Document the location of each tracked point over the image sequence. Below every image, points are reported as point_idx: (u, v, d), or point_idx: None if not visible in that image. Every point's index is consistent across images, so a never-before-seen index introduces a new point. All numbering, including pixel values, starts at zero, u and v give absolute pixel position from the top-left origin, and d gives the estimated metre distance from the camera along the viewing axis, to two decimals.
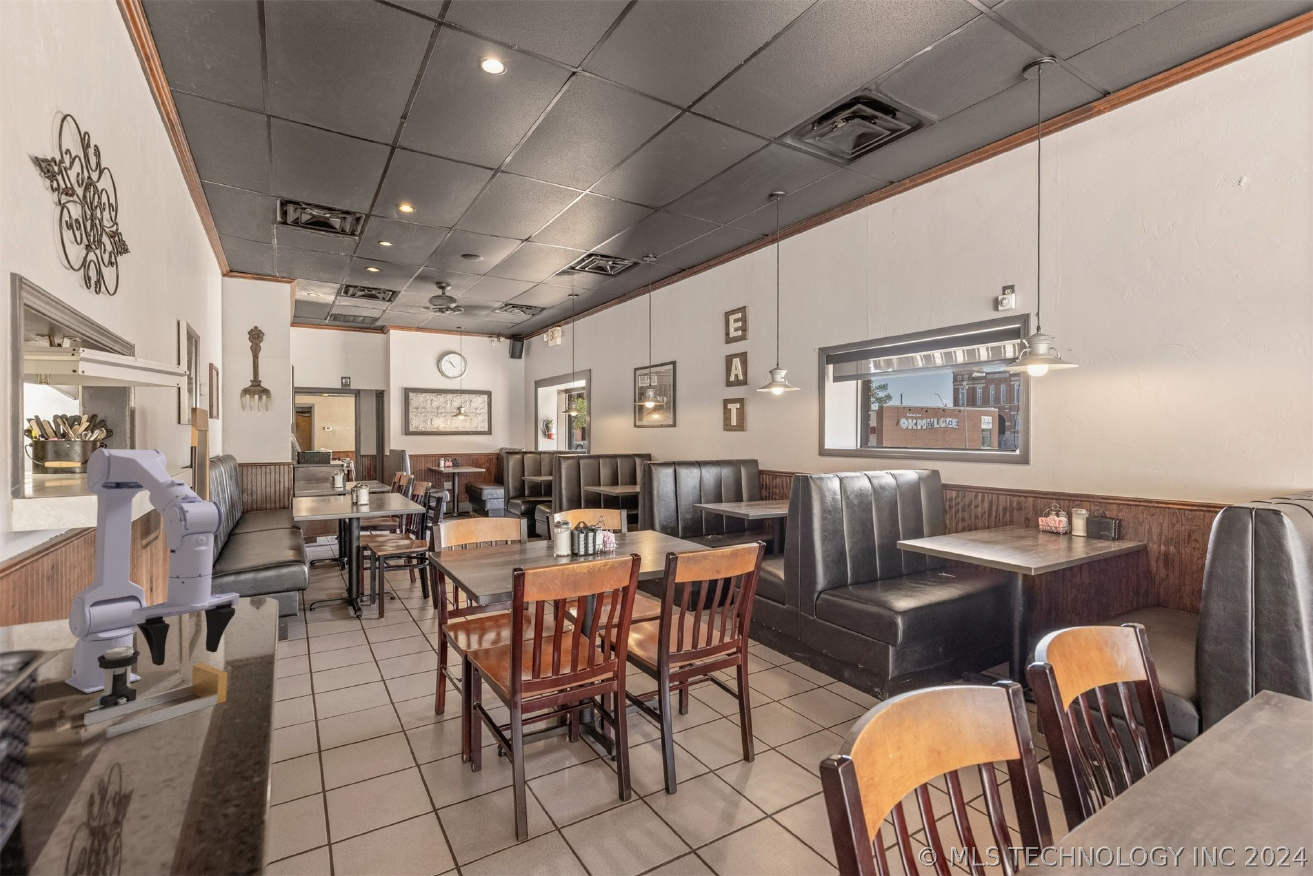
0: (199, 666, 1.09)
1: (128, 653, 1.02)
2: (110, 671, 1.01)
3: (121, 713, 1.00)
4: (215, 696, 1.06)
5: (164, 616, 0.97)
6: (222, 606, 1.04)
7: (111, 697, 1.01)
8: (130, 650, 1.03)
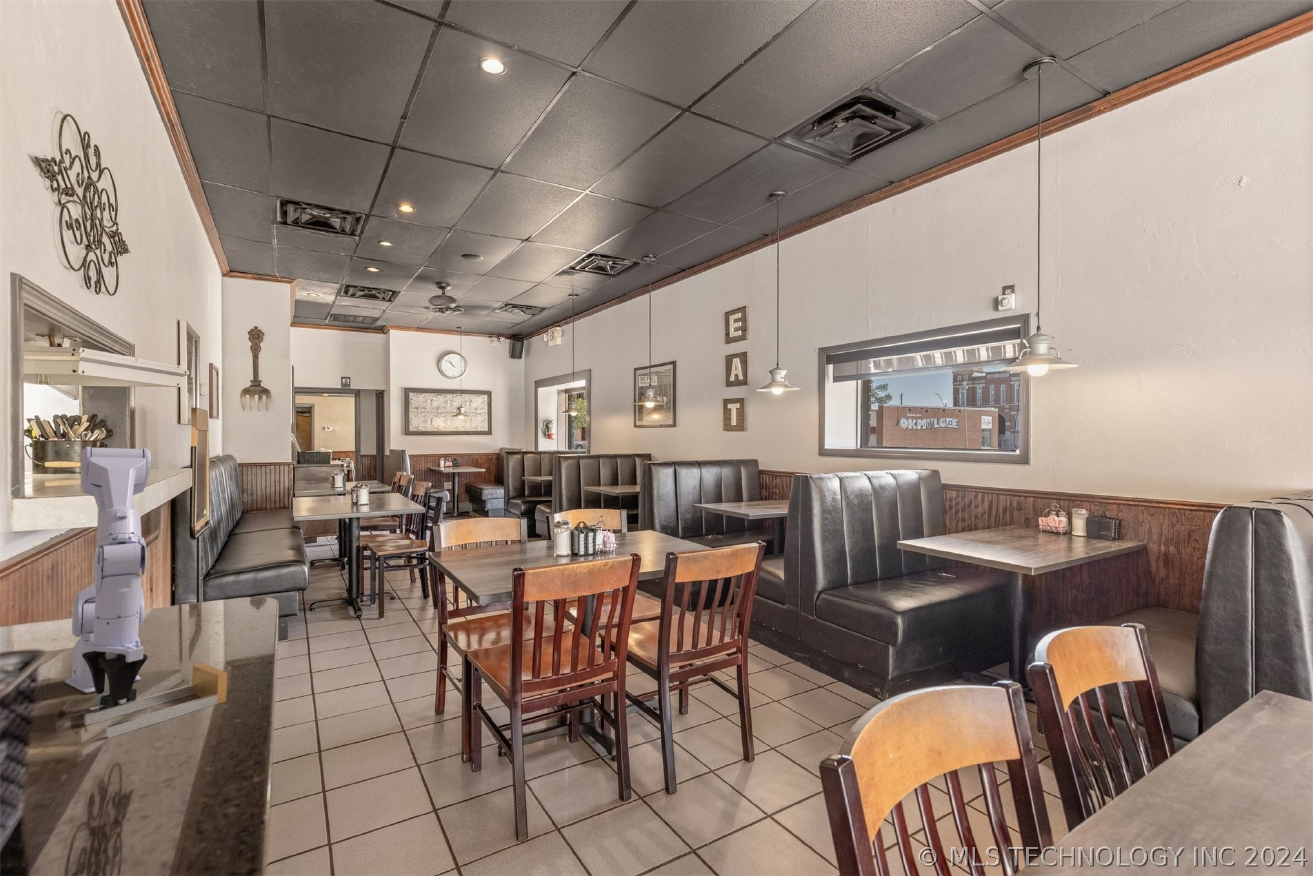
0: (199, 666, 1.09)
1: None
2: None
3: (121, 713, 1.00)
4: (215, 696, 1.06)
5: None
6: (122, 657, 0.99)
7: None
8: None
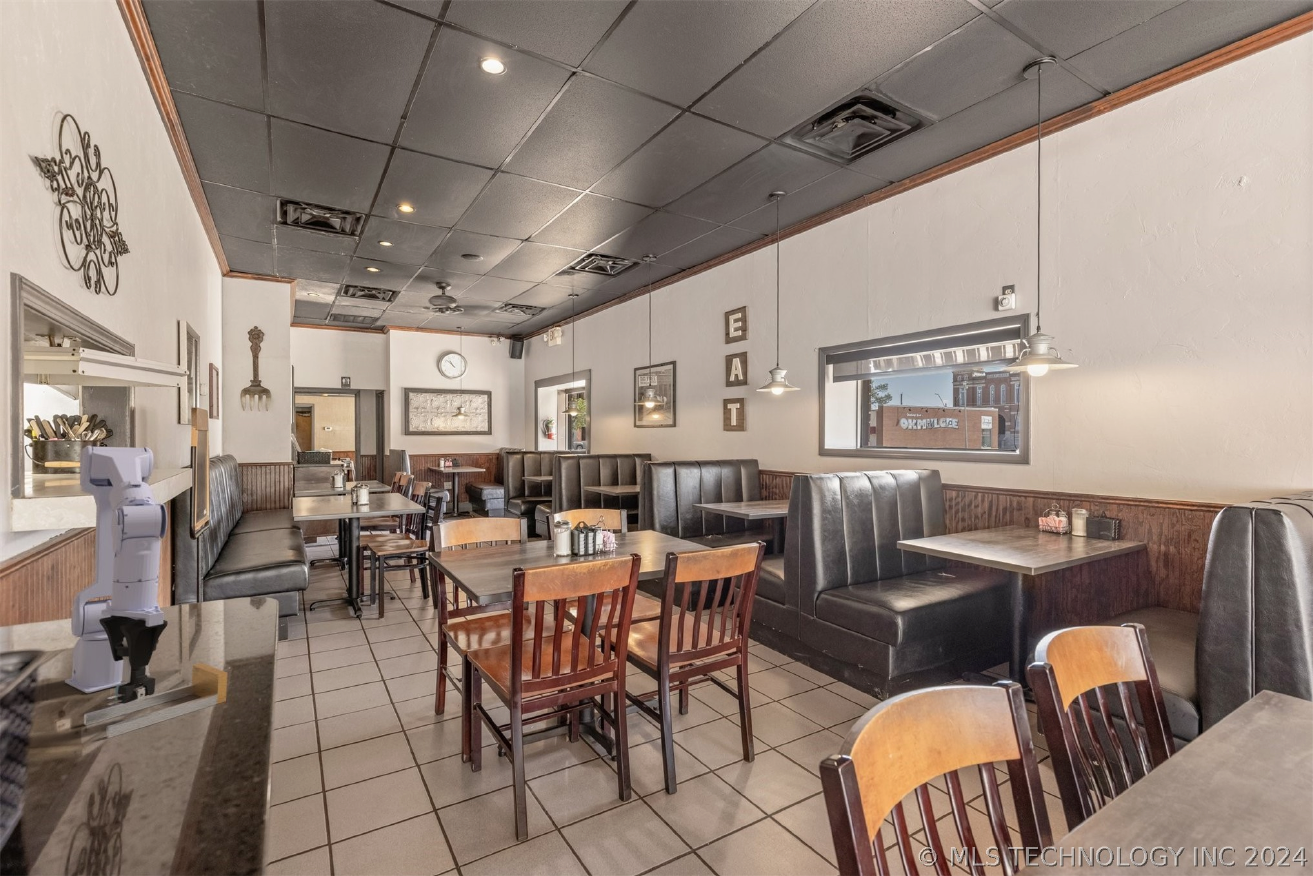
0: (199, 666, 1.09)
1: None
2: (128, 659, 0.97)
3: (121, 713, 1.00)
4: (215, 696, 1.06)
5: None
6: (141, 622, 0.96)
7: (129, 686, 0.97)
8: None
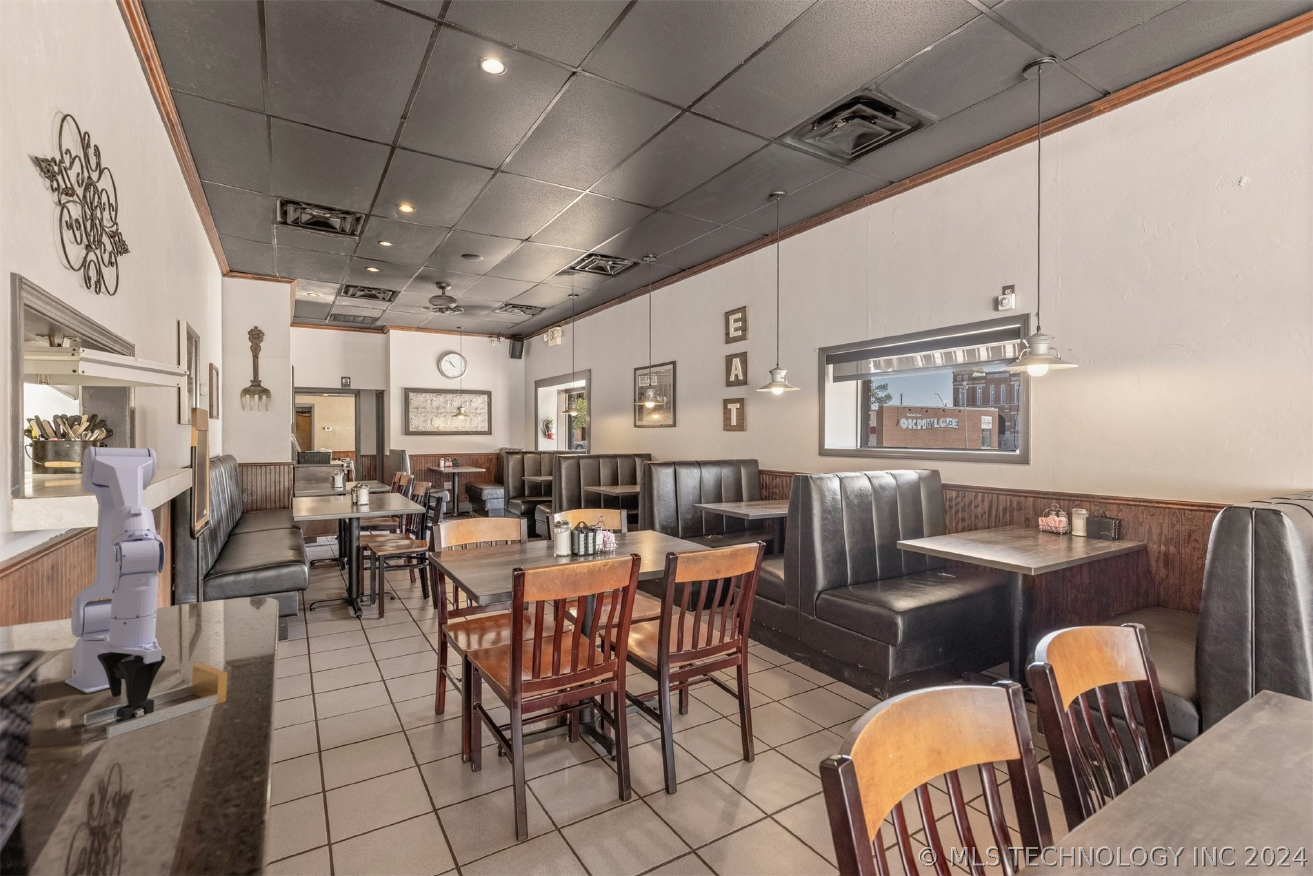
0: (199, 666, 1.09)
1: None
2: None
3: None
4: (215, 696, 1.06)
5: None
6: (139, 659, 0.95)
7: (128, 708, 0.97)
8: None
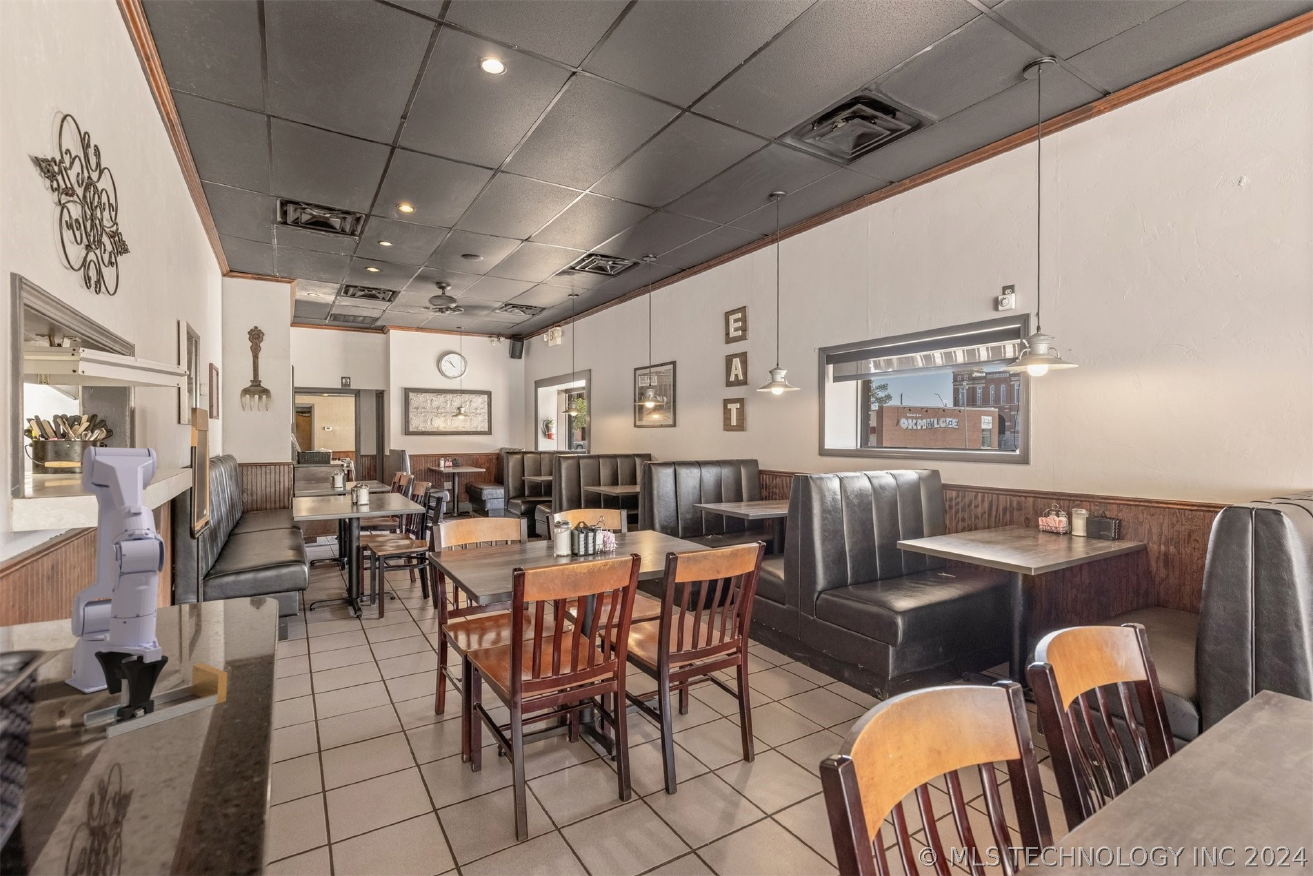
0: (199, 666, 1.09)
1: None
2: (127, 681, 0.97)
3: None
4: (215, 696, 1.06)
5: None
6: (139, 658, 0.95)
7: (128, 708, 0.97)
8: None
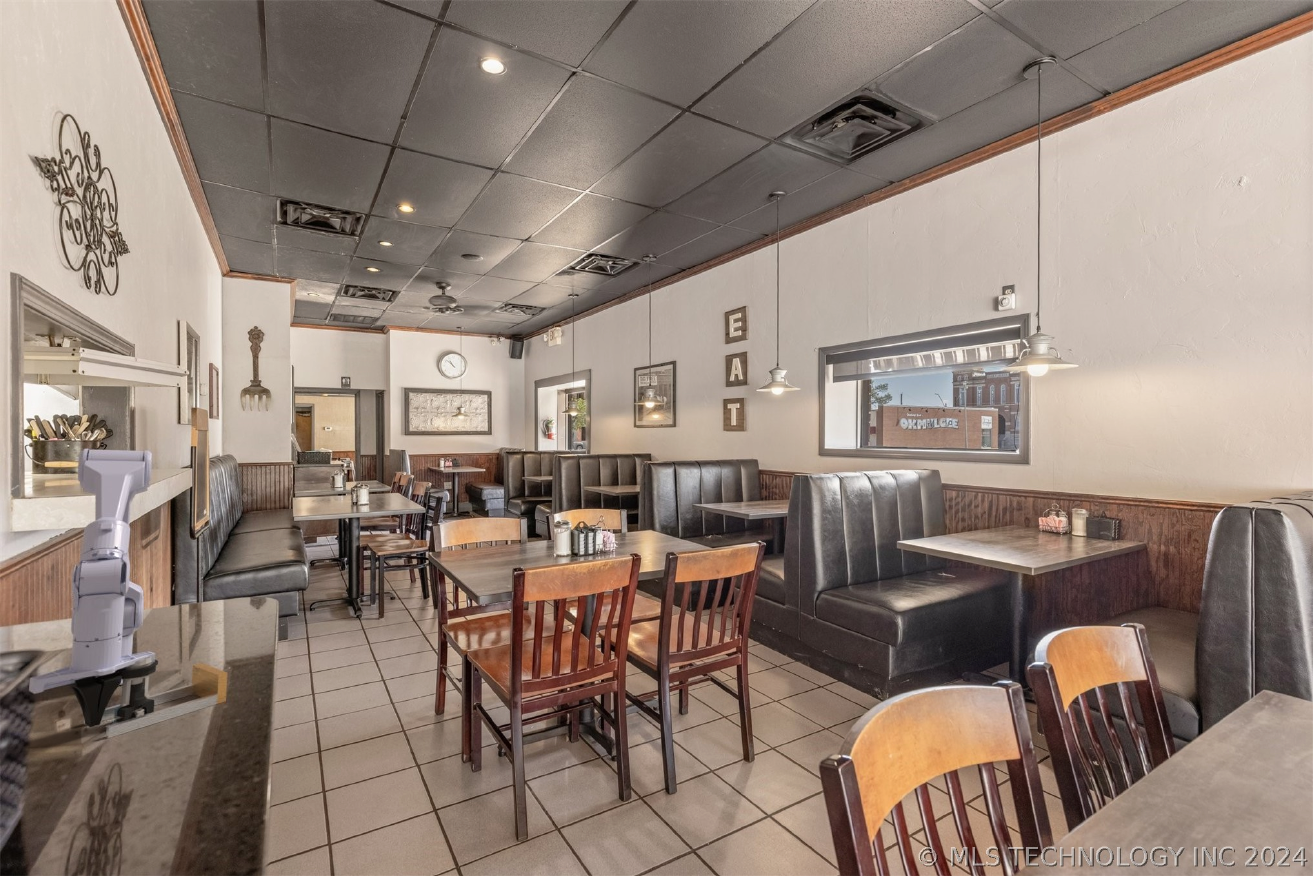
0: (199, 666, 1.09)
1: (146, 662, 0.99)
2: (128, 681, 0.97)
3: None
4: (215, 696, 1.06)
5: (67, 683, 0.91)
6: None
7: (128, 708, 0.97)
8: (148, 659, 0.99)
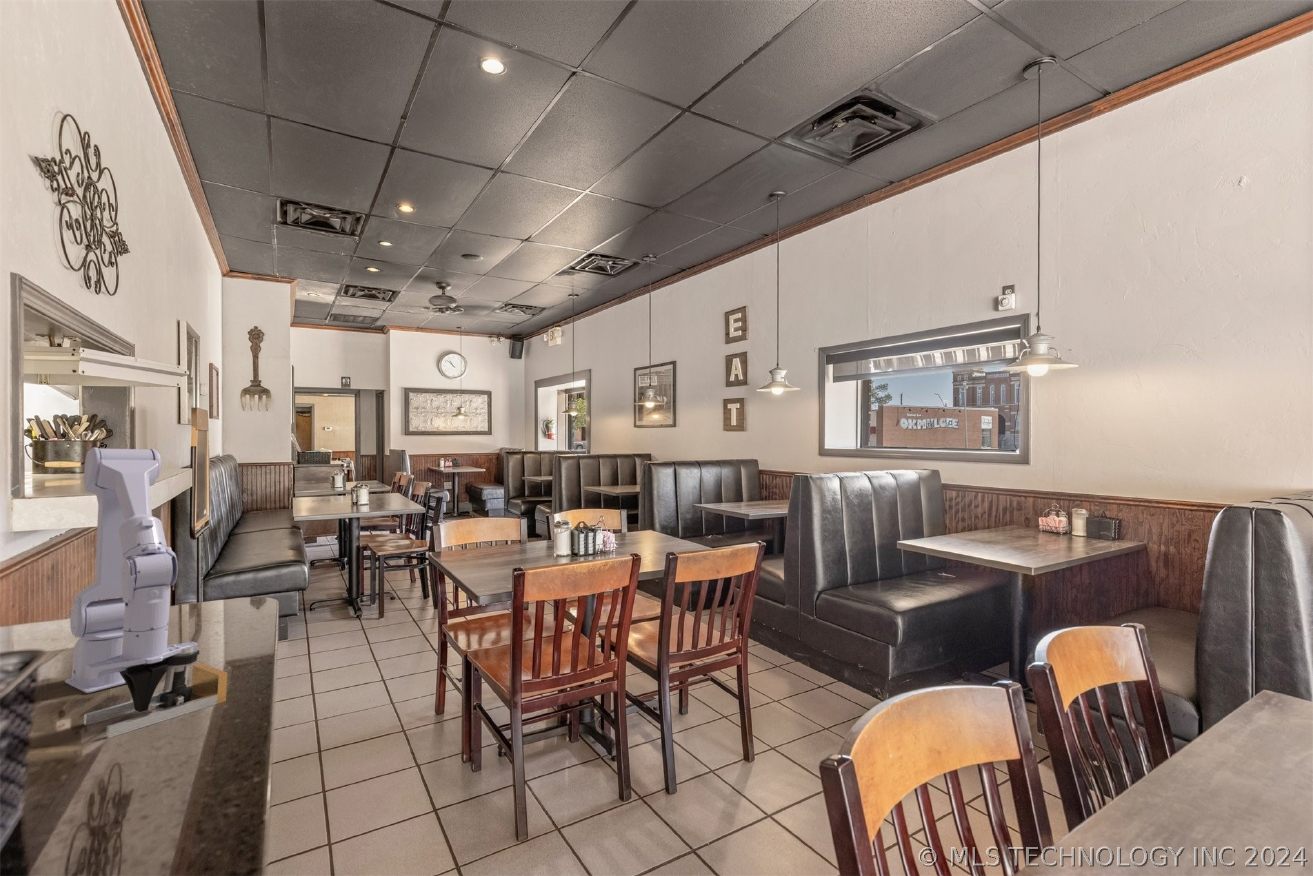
0: (199, 666, 1.09)
1: (190, 651, 1.04)
2: (172, 668, 1.03)
3: (121, 713, 1.00)
4: (215, 696, 1.06)
5: (118, 670, 0.97)
6: None
7: (171, 694, 1.02)
8: (192, 648, 1.05)
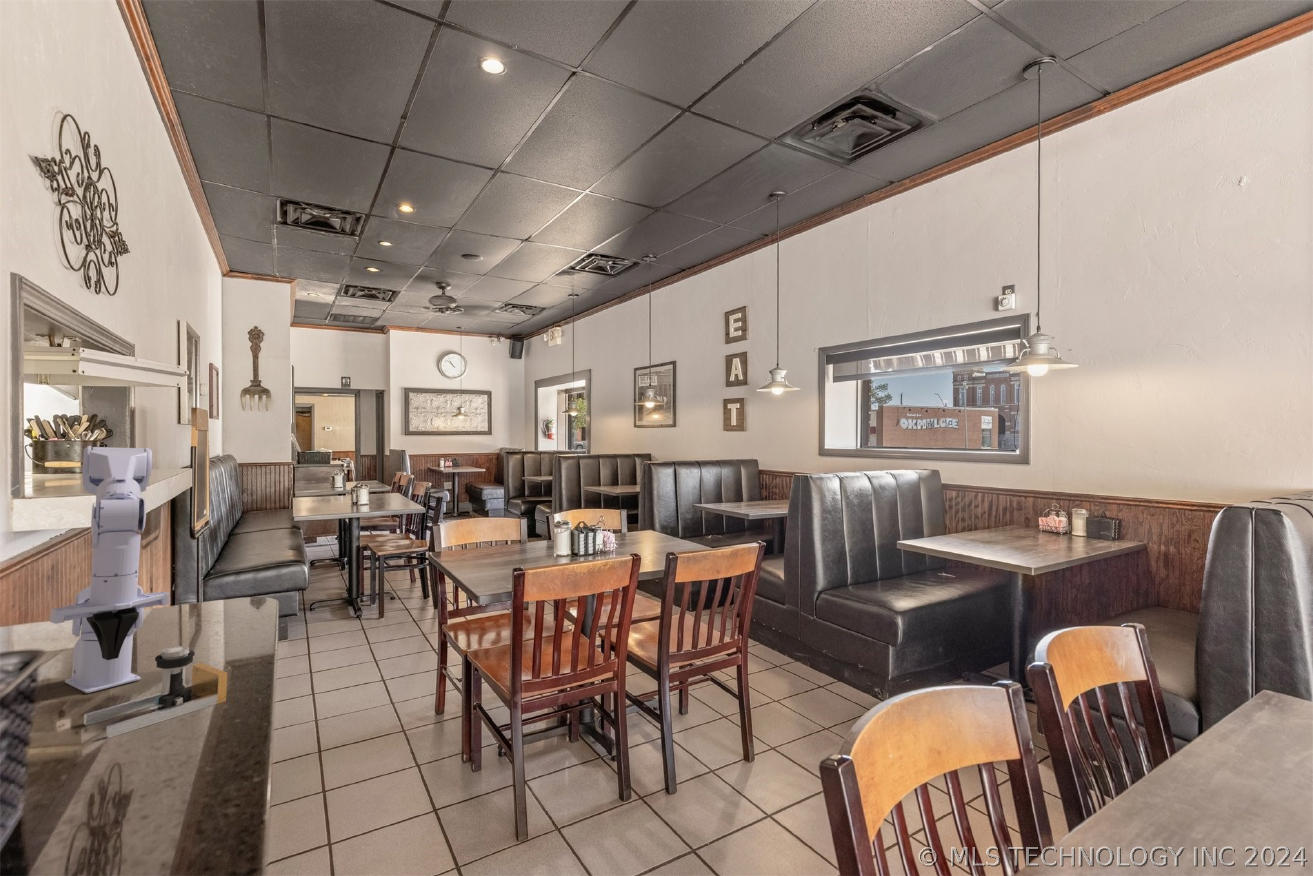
0: (199, 666, 1.09)
1: (185, 653, 1.04)
2: (168, 671, 1.02)
3: (121, 713, 1.00)
4: (215, 696, 1.06)
5: (86, 616, 0.94)
6: (150, 605, 1.01)
7: (169, 696, 1.02)
8: (186, 650, 1.04)
